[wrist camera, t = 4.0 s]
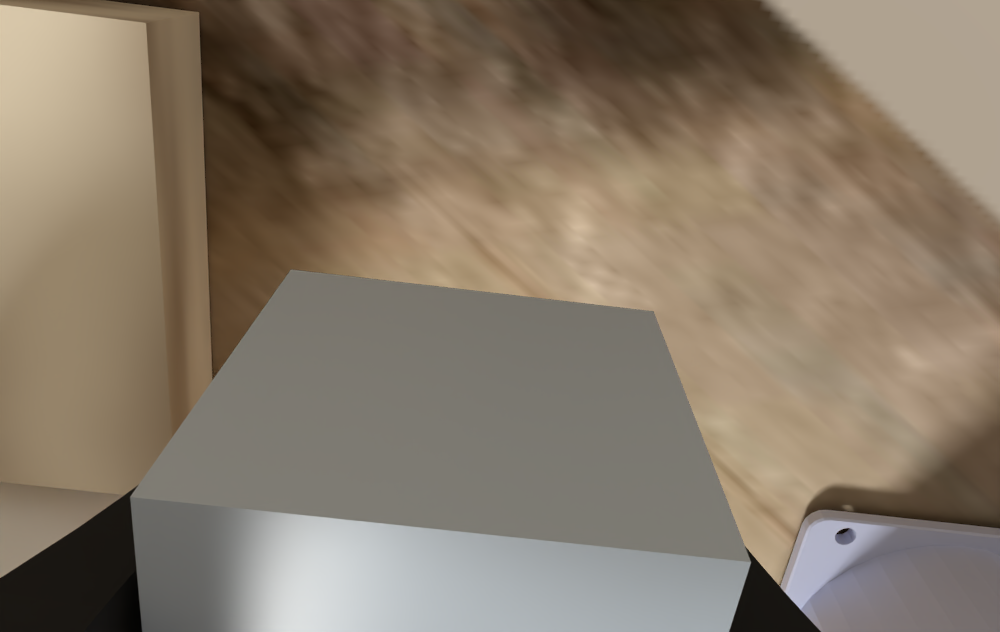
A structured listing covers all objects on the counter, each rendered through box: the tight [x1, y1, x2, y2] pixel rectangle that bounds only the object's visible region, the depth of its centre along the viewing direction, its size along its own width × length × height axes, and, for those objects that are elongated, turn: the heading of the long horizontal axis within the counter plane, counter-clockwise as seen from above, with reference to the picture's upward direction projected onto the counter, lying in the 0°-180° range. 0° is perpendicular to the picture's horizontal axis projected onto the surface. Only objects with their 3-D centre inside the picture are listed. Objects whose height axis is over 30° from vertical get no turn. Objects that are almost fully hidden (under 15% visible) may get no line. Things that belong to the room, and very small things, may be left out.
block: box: [130, 269, 751, 632], centre depth 10 cm, size 5×5×5 cm
